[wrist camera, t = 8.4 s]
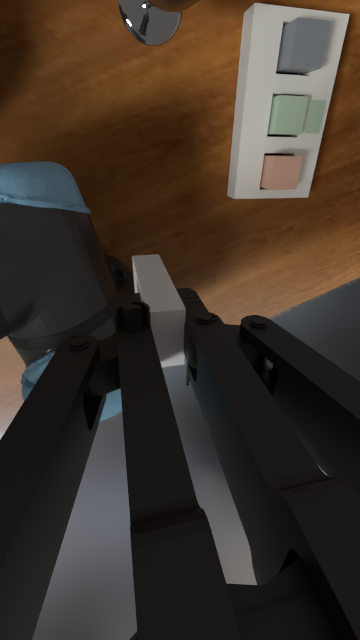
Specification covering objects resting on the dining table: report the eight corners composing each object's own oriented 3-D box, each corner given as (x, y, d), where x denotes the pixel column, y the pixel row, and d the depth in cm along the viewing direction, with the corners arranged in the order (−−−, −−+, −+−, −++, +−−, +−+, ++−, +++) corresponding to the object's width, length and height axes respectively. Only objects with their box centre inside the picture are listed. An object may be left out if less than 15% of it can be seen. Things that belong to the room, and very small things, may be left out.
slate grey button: (305, 73, 37) (320, 68, 34) (276, 71, 36) (290, 66, 33) (313, 30, 35) (330, 20, 32) (282, 27, 34) (297, 17, 31)
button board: (297, 194, 47) (308, 197, 44) (227, 195, 45) (234, 199, 42) (332, 23, 37) (350, 13, 34) (243, 12, 34) (255, 2, 32)
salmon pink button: (284, 186, 43) (296, 189, 41) (259, 186, 43) (270, 189, 40) (290, 155, 41) (302, 156, 39) (264, 155, 41) (275, 156, 38)
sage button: (288, 135, 41) (301, 134, 39) (262, 134, 40) (273, 133, 38) (294, 99, 39) (308, 96, 37) (267, 98, 38) (279, 95, 36)
